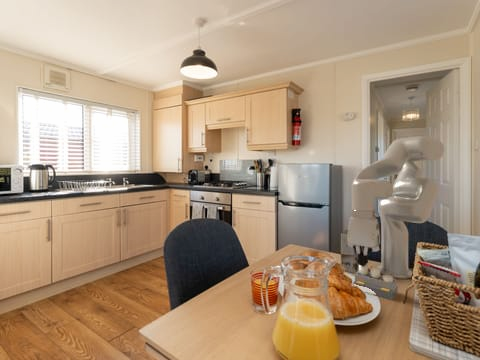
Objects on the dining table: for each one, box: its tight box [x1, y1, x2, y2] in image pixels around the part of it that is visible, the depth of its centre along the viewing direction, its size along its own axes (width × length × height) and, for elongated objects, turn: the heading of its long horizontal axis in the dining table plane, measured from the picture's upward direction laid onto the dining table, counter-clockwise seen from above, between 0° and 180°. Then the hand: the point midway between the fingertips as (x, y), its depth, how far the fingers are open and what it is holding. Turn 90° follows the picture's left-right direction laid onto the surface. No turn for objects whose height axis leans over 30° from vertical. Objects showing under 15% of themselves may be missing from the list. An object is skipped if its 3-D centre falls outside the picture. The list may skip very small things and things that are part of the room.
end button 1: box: [382, 274, 394, 283], centre depth 89 cm, size 3×3×4 cm
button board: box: [353, 270, 399, 301], centre depth 91 cm, size 7×12×5 cm, turn 46°
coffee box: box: [340, 229, 359, 274], centre depth 112 cm, size 9×6×16 cm
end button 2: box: [358, 264, 369, 276], centre depth 94 cm, size 3×3×4 cm
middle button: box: [369, 266, 381, 280], centre depth 91 cm, size 3×3×4 cm
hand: (362, 264), depth 94 cm, fingers closed
